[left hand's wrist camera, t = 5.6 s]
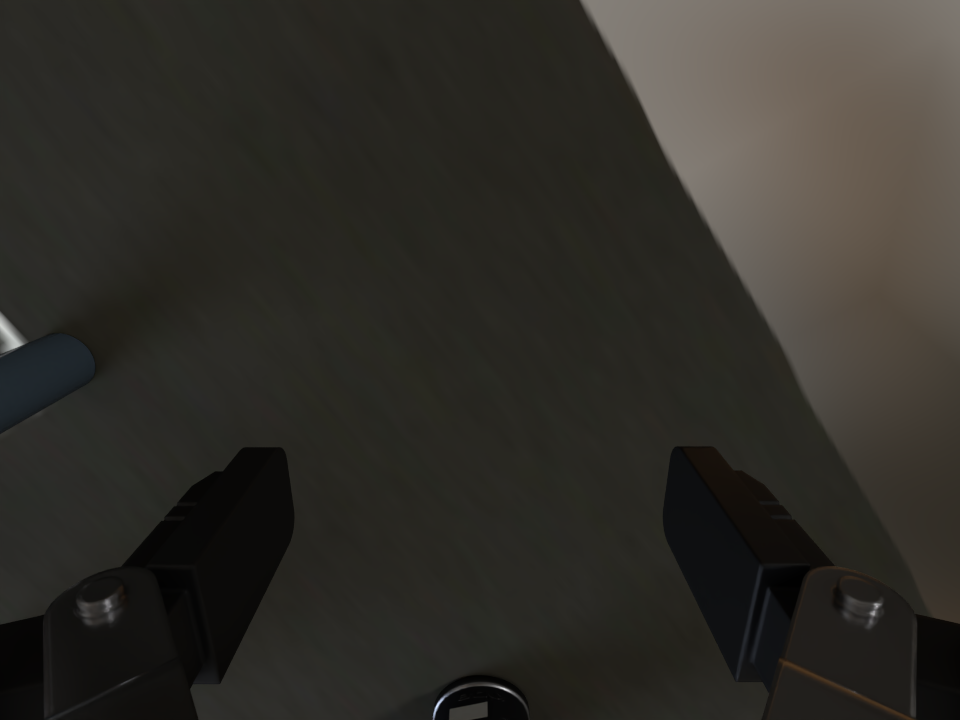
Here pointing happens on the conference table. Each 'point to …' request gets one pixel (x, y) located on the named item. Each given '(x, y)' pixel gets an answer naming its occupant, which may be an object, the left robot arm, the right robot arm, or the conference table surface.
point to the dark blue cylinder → (41, 376)
